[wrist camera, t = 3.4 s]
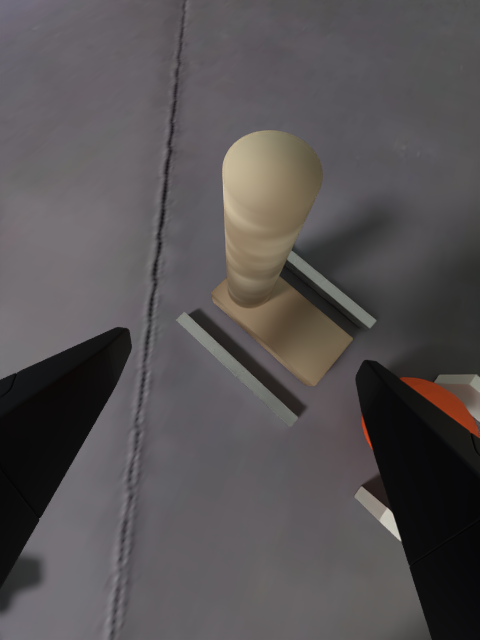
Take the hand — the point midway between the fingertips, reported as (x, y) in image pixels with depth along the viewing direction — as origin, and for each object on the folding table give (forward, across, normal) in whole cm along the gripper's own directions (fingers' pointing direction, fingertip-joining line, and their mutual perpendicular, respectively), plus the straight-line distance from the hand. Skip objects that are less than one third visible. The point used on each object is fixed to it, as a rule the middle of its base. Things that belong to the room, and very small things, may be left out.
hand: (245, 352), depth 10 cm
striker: (+12, -3, +6) cm, 14 cm away
